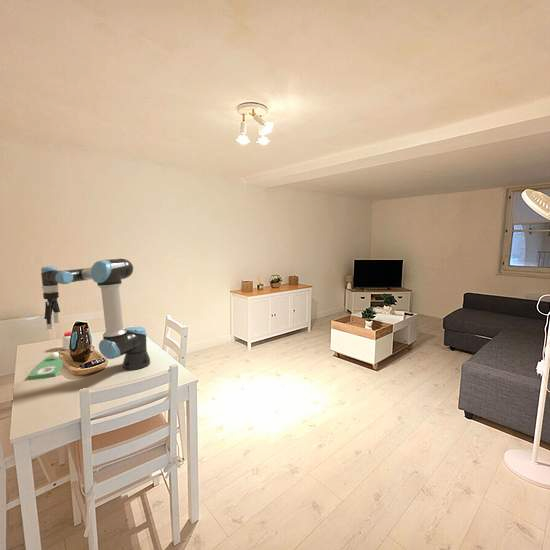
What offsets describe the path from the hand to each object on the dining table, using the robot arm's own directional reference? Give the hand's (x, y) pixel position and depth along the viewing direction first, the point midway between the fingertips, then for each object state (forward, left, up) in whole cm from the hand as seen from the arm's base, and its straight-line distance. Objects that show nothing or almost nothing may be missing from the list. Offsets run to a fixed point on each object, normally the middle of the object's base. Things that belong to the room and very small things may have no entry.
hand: (53, 325), depth 185 cm
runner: (-1, +12, -22) cm, 25 cm away
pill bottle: (-3, -20, -22) cm, 30 cm away
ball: (-1, +4, -18) cm, 18 cm away
